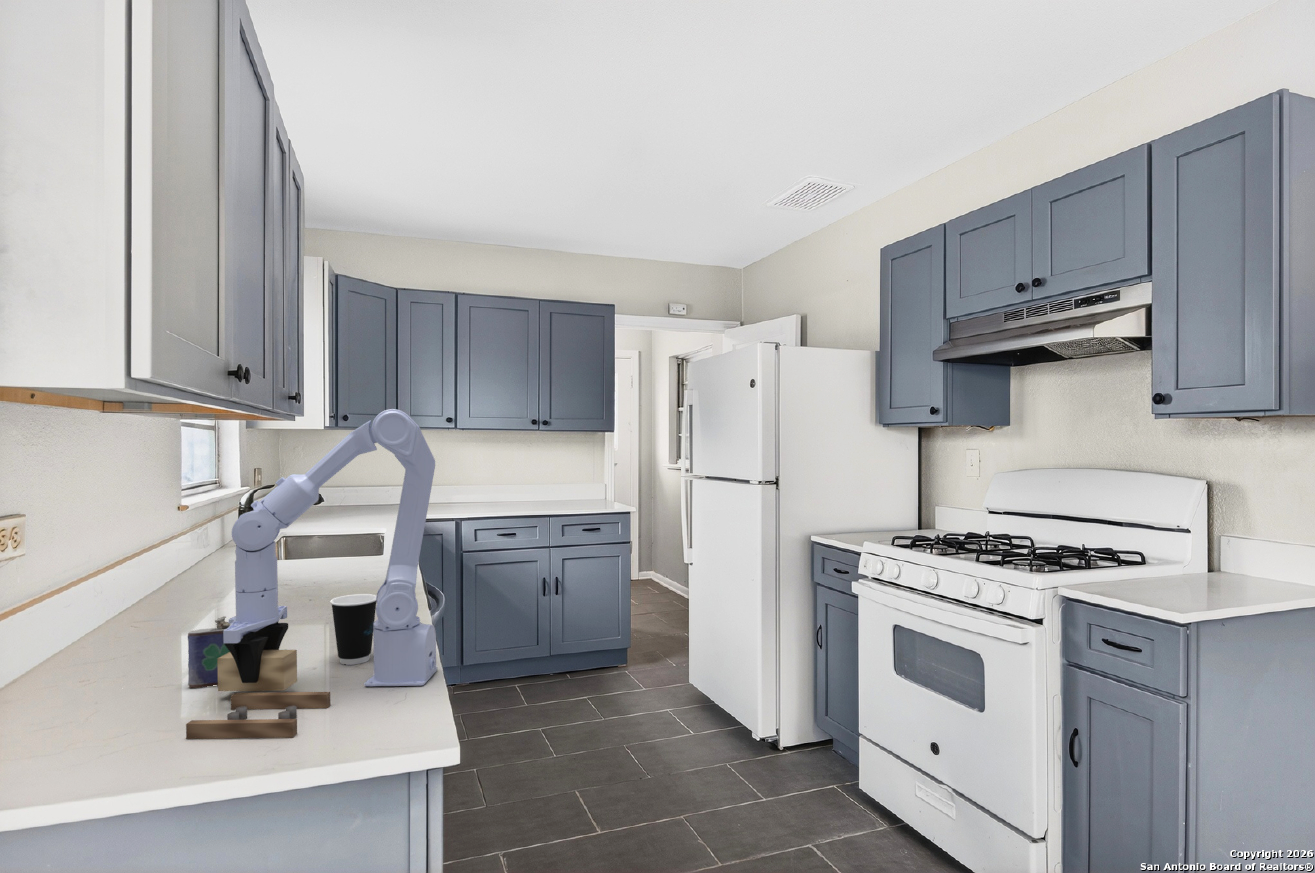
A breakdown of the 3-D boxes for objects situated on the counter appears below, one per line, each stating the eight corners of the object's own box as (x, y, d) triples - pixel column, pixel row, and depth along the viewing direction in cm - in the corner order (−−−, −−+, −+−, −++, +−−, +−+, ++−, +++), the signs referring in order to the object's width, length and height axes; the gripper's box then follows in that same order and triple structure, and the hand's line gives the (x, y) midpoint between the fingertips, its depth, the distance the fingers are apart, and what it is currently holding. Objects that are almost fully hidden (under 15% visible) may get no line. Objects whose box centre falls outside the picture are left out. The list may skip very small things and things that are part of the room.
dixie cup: (383, 662, 127) (382, 599, 127) (334, 670, 123) (334, 606, 123) (373, 651, 134) (372, 591, 134) (326, 658, 129) (326, 597, 129)
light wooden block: (297, 681, 113) (296, 649, 113) (283, 690, 109) (283, 657, 109) (233, 682, 113) (233, 650, 113) (218, 691, 109) (217, 658, 109)
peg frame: (330, 705, 107) (330, 691, 107) (292, 737, 96) (292, 722, 96) (235, 706, 107) (235, 692, 107) (186, 738, 95) (186, 723, 95)
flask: (186, 689, 114) (186, 622, 114) (191, 683, 117) (191, 617, 117) (252, 682, 117) (251, 616, 117) (255, 677, 120) (255, 612, 120)
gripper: (256, 579, 118) (257, 662, 118) (201, 600, 104) (203, 694, 104) (299, 578, 118) (300, 661, 118) (250, 599, 104) (252, 693, 104)
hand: (258, 676), depth 111 cm, fingers closed on light wooden block, 4 cm apart
